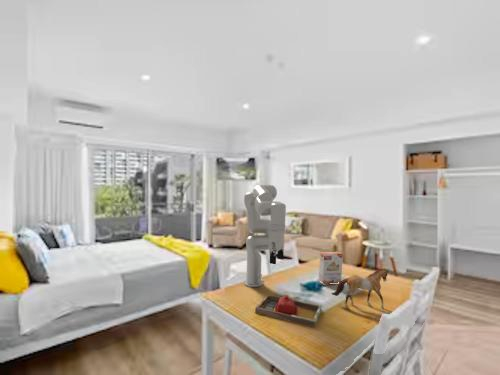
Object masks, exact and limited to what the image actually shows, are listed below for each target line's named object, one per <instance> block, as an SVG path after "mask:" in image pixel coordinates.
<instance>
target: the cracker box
mask: <svg viewBox="0 0 500 375" xmlns="http://www.w3.org/2000/svg"><path fill="white" fill-rule="evenodd" d="M318 268H319V269H318V270H319V271H318V282H319V281H321V282H323V283H324V284H330V283H338V282H340V281H342V270H343V253H342V252H339V251H323V252H319V267H318Z"/></svg>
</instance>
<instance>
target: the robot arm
mask: <svg viewBox="0 0 500 375" xmlns="http://www.w3.org/2000/svg"><path fill="white" fill-rule="evenodd" d="M277 193H278V190H277V188H276V186H274V185H271V184H258V185H255V186H254V187H253V190H252V191H250V192H246V193H245V194H244V197H243V202H244V206H245V209H246V212H247V213H246V216H247V230H248V233H250V234H254V235H249V236H248V237H247V238H246V240H245V245H246V276H245V277H246V279H244V281H243V284H244V285H245V286H246V287H250V288H258V287H259V288H260V287H262V286H263V285H264V281H263V280H262V276H263V273H262V255H261V253H260V252H259V251H266V250H267V251H268V253H269V264H271V265H276V264H277V259H278V260H284V254H285V253H284V251H285V249H284V248H285V231H286V217H287V216H286V215H287V213H286V211H287V210H286V209H287V208H286V204H285V203H283V202H281V201H274V200H275V199H276V198H277ZM261 216H262V217H263V216H270V219H268V218H261ZM255 234H256V235H255ZM257 234H258V235H257ZM261 234H262V235H261ZM263 234H264V235H263Z"/></svg>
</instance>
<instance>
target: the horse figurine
mask: <svg viewBox="0 0 500 375" xmlns="http://www.w3.org/2000/svg"><path fill="white" fill-rule="evenodd" d="M388 272H389V269H387V268H379V269H377V270H375V271H374V272H372V273H370V274H369V275H368V276H361V275H357V274H353V275H350V276H348V277H346V278H344V279H341V281H340V282H339V284H337V285H336V289H335V291H334V292H331V295H332V296H335V297H337V296H339V295H340V294H341V293H342V292H343V291H344V289H345V285H346V284H347V287H348V291H347V295H346V296H345V302H344V307H345V308H346V309H349V305H348V301H349V300H350V302H349V303H350V304H351V305H352V306H354V299H353V297H352V295H353V294H354V292H356V291H357V290H358V289H360V290H364V291H368V292H367V299H366V303H367V306H368V307H371V306H372V305H371V303H370V302H369V301H370V297H371V293H372V291H374V292H375V293H376V294H377V296H378V297H379V298H380V302H381V305H380V307H381V308H382V309H384V304H385V303H384V300H383V296H382V292H381V288H382V287H381V279H382V281H383V282H386V281H388V280H387V279H388V277H387V276H388Z"/></svg>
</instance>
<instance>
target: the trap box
mask: <svg viewBox="0 0 500 375" xmlns="http://www.w3.org/2000/svg"><path fill="white" fill-rule="evenodd" d="M280 298H281V297H280V296H277V295H276V296H275V295H271V294H267V295H266V296H265V297H264V298H263V299H262V300H261V301H260V302H259V303H258V304H257V306H255V314H256V313H257V314H259V315H263V316H268V317H271V318H274V319H275V318H276V319H280V320H285V321H288V322H292V323H295V324H299V325H303V326H307V327H311V328H315V327H316V324H317V321H318V320H319V316H320V315H321V313H322V305H321V304H316V303H311V302H307V301H299V300H295V299H293V300H294V303H295V306H297V308H298V307H299V308H303V309H308V310H311V311H316V312H315V314H314V317H313V319H310V318H307V317H302V316H299V315H297V316H295V315H288V314H284V313H280V312H275V306H276V304H278V301H279V299H280Z"/></svg>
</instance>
